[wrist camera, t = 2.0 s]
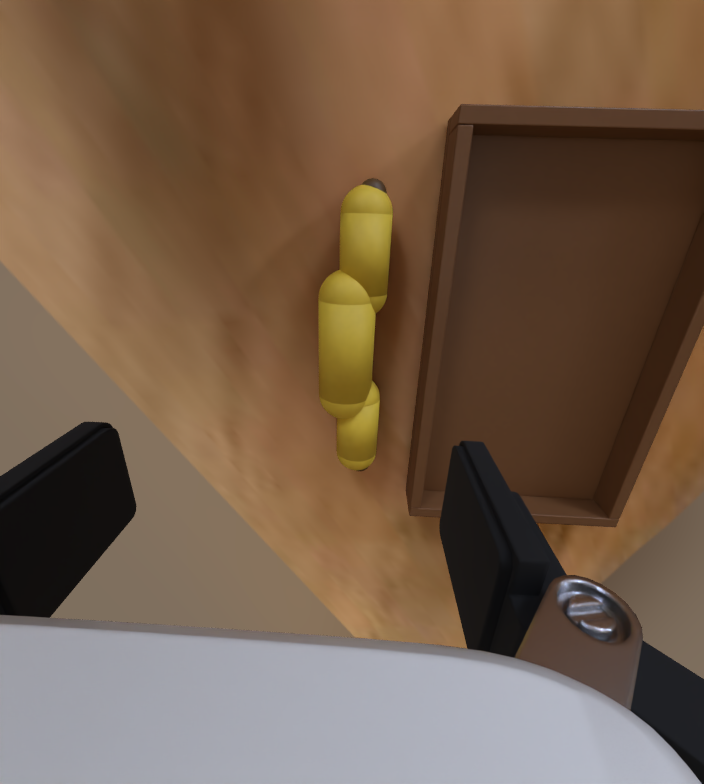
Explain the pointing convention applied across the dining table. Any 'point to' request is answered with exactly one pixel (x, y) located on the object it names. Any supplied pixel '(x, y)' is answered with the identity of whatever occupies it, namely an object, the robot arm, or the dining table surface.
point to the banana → (355, 322)
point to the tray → (559, 300)
